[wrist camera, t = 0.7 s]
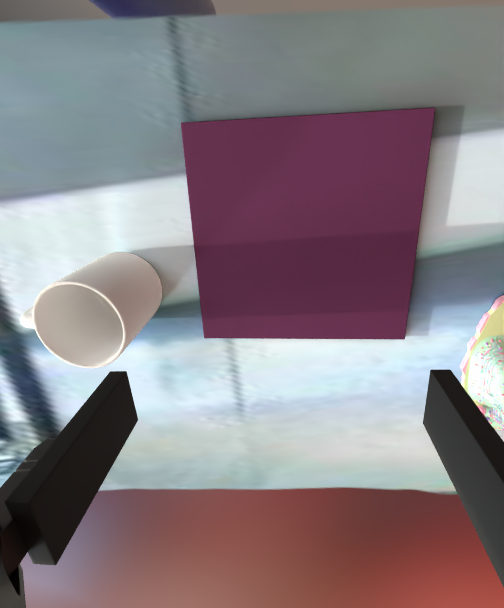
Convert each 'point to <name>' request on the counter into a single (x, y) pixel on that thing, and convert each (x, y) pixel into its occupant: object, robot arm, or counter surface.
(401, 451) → the counter surface
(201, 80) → the counter surface
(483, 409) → the food platter
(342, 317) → the mat
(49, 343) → the cup
